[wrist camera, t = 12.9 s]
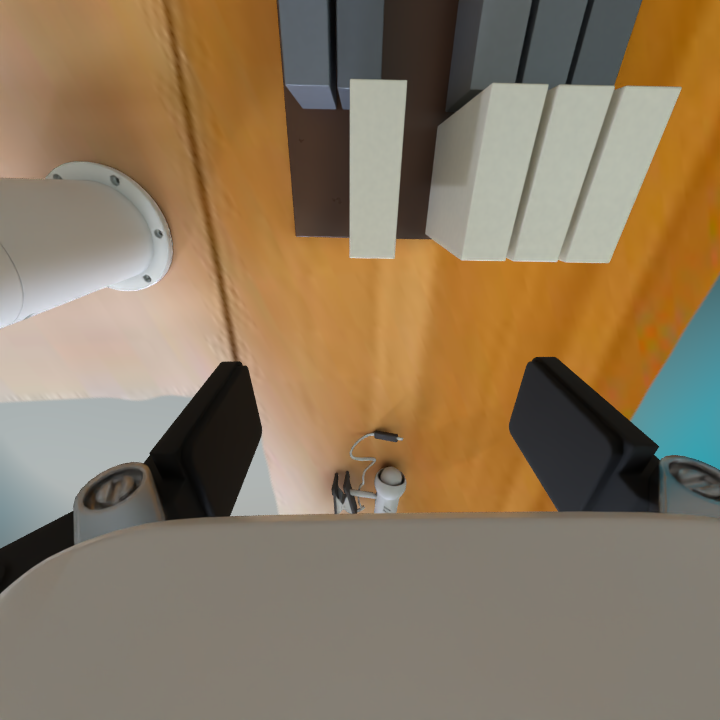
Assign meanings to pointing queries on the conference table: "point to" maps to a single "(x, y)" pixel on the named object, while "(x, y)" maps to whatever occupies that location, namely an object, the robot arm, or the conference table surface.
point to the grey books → (458, 45)
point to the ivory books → (543, 170)
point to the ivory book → (375, 165)
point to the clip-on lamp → (386, 482)
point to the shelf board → (332, 126)
